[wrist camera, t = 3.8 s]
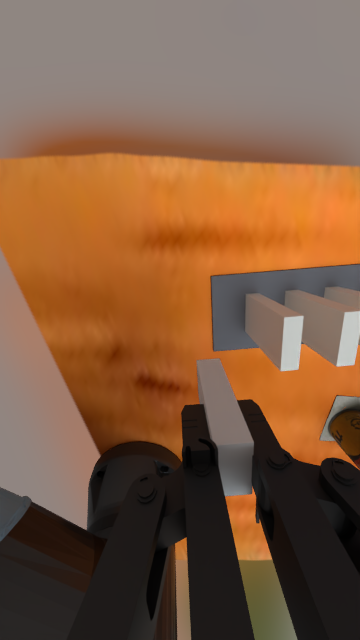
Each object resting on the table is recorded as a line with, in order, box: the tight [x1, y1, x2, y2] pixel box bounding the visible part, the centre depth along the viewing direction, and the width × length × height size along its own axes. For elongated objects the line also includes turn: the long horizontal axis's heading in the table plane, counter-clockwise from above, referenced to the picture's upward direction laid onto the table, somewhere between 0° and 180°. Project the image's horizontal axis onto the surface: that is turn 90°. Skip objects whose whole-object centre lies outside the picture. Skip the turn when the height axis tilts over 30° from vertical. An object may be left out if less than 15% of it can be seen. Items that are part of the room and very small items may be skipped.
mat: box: [211, 264, 360, 351], centre depth 29 cm, size 32×10×1 cm, turn 94°
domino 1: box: [245, 293, 304, 371], centre depth 24 cm, size 2×5×10 cm, turn 4°
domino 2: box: [284, 290, 360, 366], centre depth 24 cm, size 2×5×10 cm, turn 5°
